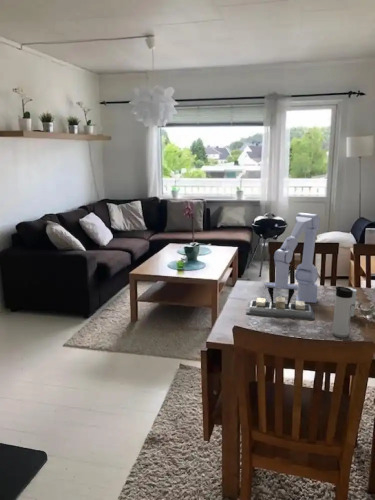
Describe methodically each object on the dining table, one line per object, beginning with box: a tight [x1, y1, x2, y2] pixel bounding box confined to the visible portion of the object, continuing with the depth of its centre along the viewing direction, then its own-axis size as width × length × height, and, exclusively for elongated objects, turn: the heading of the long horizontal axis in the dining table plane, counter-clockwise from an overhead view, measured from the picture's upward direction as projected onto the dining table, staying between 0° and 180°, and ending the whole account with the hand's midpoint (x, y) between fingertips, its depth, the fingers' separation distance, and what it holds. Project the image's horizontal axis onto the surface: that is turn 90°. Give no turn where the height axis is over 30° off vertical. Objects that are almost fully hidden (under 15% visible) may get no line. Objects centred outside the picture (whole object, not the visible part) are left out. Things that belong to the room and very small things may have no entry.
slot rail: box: [245, 297, 316, 321], centre depth 191 cm, size 30×13×5 cm, turn 77°
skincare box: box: [348, 287, 358, 317], centre depth 187 cm, size 6×4×12 cm
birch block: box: [275, 296, 286, 309], centre depth 191 cm, size 4×6×5 cm, turn 168°
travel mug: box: [331, 286, 353, 339], centre depth 165 cm, size 6×7×20 cm
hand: (280, 303), depth 191 cm, fingers open, 6 cm apart
